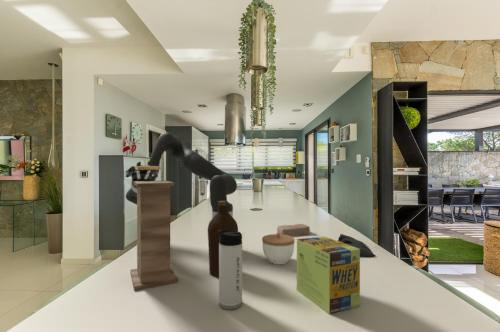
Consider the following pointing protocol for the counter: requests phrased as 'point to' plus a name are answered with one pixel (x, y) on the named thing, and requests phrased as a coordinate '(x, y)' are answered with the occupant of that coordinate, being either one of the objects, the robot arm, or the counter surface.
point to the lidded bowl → (278, 248)
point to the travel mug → (230, 269)
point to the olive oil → (218, 223)
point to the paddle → (147, 167)
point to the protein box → (328, 273)
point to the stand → (153, 235)
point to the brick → (293, 229)
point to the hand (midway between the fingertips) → (144, 163)
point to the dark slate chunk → (356, 245)
